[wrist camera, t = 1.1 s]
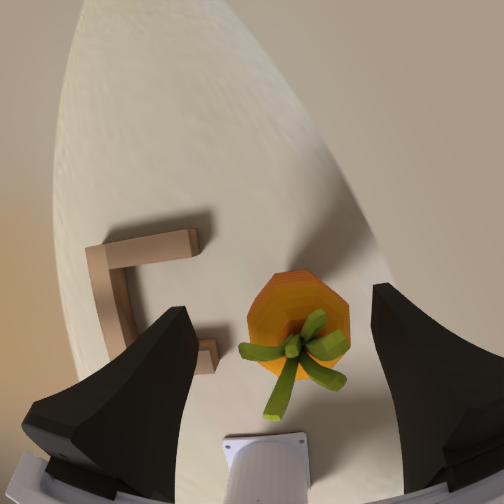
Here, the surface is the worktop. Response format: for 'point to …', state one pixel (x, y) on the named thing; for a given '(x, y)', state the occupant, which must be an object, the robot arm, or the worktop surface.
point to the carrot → (297, 335)
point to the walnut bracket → (116, 293)
